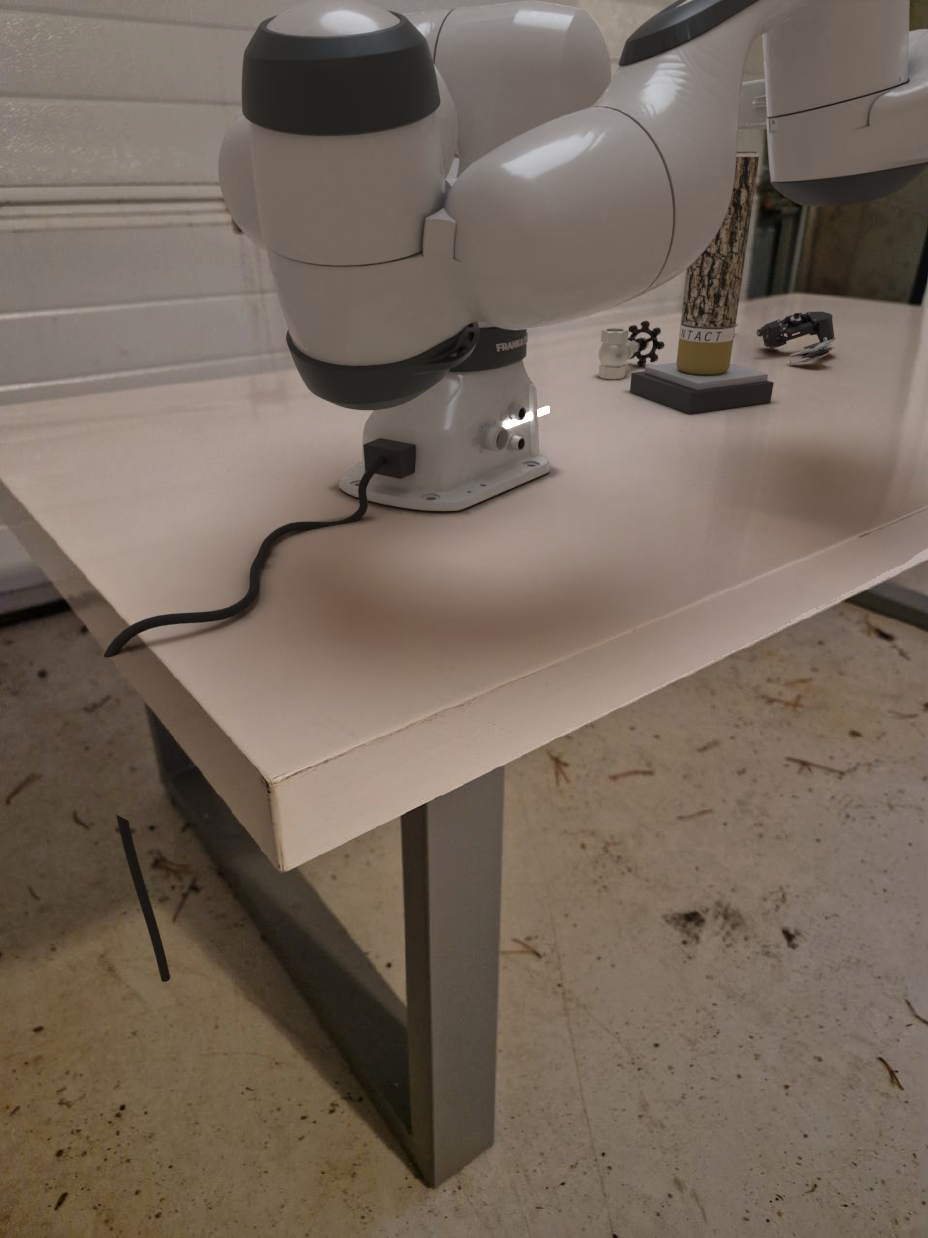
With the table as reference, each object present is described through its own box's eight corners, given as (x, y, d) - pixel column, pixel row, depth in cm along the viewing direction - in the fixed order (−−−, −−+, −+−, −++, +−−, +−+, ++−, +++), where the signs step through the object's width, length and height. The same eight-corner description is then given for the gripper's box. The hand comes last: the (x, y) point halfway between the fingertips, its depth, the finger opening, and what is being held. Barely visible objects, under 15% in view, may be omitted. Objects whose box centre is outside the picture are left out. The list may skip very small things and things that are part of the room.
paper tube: (689, 363, 113) (714, 152, 101) (737, 369, 109) (769, 151, 97) (666, 371, 108) (689, 152, 96) (715, 378, 104) (745, 151, 92)
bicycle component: (830, 355, 122) (847, 343, 133) (819, 306, 120) (838, 298, 132) (749, 379, 129) (772, 365, 141) (738, 333, 128) (762, 323, 139)
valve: (624, 382, 118) (662, 367, 127) (628, 334, 115) (667, 322, 123) (584, 376, 122) (623, 362, 130) (587, 329, 119) (627, 318, 127)
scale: (689, 414, 103) (692, 385, 101) (629, 391, 113) (631, 365, 112) (770, 402, 108) (775, 375, 106) (706, 382, 118) (709, 356, 116)
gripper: (763, 143, 70) (703, 146, 82) (990, 140, 71) (899, 144, 84) (776, 53, 67) (712, 70, 79) (1012, 52, 68) (915, 70, 81)
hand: (810, 108), depth 81 cm, fingers open, 8 cm apart
